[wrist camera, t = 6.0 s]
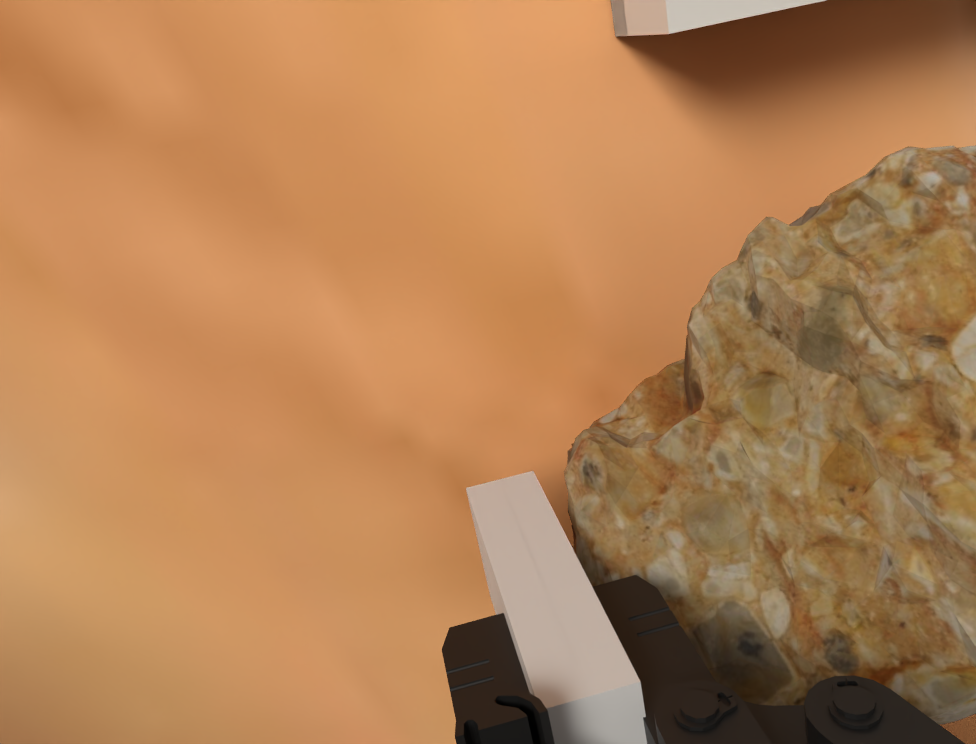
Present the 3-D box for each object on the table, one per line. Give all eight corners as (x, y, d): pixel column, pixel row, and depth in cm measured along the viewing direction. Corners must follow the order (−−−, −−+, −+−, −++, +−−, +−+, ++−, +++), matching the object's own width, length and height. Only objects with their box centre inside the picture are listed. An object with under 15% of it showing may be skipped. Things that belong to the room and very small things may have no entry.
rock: (898, 544, 24) (1253, 844, 15) (543, 626, 23) (696, 1008, 14) (921, 103, 20) (1440, 147, 11) (485, 172, 19) (653, 291, 10)
